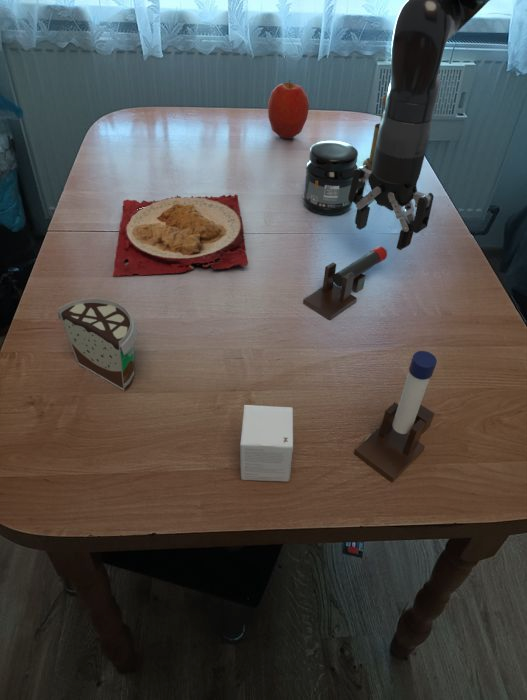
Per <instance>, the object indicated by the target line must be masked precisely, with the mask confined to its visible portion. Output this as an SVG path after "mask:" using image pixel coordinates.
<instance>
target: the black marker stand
mask: <svg viewBox="0 0 527 700" xmlns="http://www.w3.org/2000/svg"><path fill="white" fill-rule="evenodd" d="M336 271H337V263H335V262H331V263H329V264H327V265H326V266H325V267H324V275H323V282H322V286H321V287H320V288H318V289H317V290H315V291H314V292H312V293H310V294H309V295H307V296H306V297H304V298H303V300H302V304H303V305H305V306H306V307H308V308H309V309H311V310H313V311H314V312H316V313H317V314H319V315H321V316H322V317H323V318H325V319H327V320H329V321H332V320H333V319H334V318H335V317H337V316H339V315H340V314H342V313H343V312H344V311H346V310H347V309H349V308H350V307H352V306H354V305H355V304H356V303H357V300H358V297H357V296H355V295H353V294H352V292H353V293H355V294H358V293H359V292H360V291H361V290H363V289H364V286H365V285H364V284H365V281H366V274H364V273H362V274H360V275H359V276H357V277H356V278H354V275H355V274H353V273H351V272H350V273H349V274H347V275H346V276H344V277H343V283H342V287H339V286H337V285H336V284H335V283H334V281H333V275H334V274H336Z"/></svg>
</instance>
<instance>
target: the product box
mask: <svg viewBox="0 0 527 700" xmlns="http://www.w3.org/2000/svg"><path fill="white" fill-rule="evenodd" d="M241 421H242V422H241V433H240V442H239V450H240V451H239V452H240V453H239V455H240V456H239V457H240V462H239V463H240V480H241V481H259V482H260V481H261V482H283V483H284V482H285V483H288V482H290V480H291V471H292V460H293V452H294V408H293V407H292V406H273V405H256V404H255V405H254V404H244V405H243V413H242V420H241Z"/></svg>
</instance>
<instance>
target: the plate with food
mask: <svg viewBox="0 0 527 700" xmlns="http://www.w3.org/2000/svg"><path fill="white" fill-rule="evenodd" d="M142 207H146V208H142ZM139 208H142V209H139ZM137 209H138V210H137ZM244 234H245V231H244V223H243V218H242V215H241V209H240V203H239V195H238V194H234V195H231V194H228V195H227V196H226V195H225V194H223V195H220V196H212V195H211V196H210V197H209V196H207V195H206V196H193V195H192V196H191V197H189V196H180V195H176V196H175V197H174V196H173V197H172V196H171V197H168V198H164V199H161V200H157V201H156V200H152V201H151V200H150V201H147V200H141V202H139V201H138V200H136V199H132V200H131V199H124V200H123V201H122V215H121V221H120V222H119V229H118V239H117V246H116V250H115V258H114V265H113V266H114V267H113V268H114V269H113V273H112V276H115V277H116V276H117V277H121V276H129V277H132V276H133V275H139V276H150V275H162V274H163V275H164V274H181V273H186V272H188V271H192V270H194V269H195V267H194V265H193V264H196V265H197V266H200V264H202V267H203V268H208V267H210V266H211V269H212V270H224V269H230V268H232V267H233V268H234V267H236V266H241V267H242V268H244V267H246V266H248V264H249V261H248V256H247V253H246V243H245V236H244ZM126 260H127V261H128V263H126V264H125V261H126Z"/></svg>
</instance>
